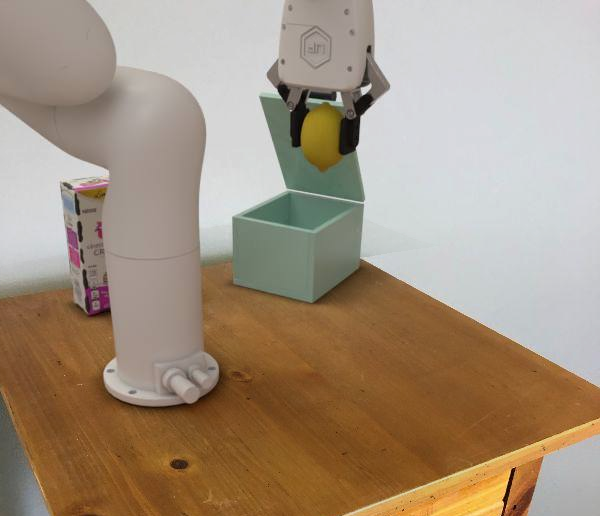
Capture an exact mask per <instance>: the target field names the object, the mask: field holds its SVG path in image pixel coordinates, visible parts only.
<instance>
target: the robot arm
mask: <svg viewBox="0 0 600 516" xmlns="http://www.w3.org/2000/svg"><path fill="white" fill-rule="evenodd" d="M375 40H376V39H375V15H374V4H373V0H284V3H283V9H282V15H281V23H280V31H279V41H278V42H279V44H278V45H279V46H278V58H277V59H276V60H275V61H274V62H273V64H272V65H271V66H270V68H269V69H268V71H267V72H266V77H267V80H268V81H269V82H270V83H271V85H272V86H273V87H274V88H275V89H276V90H277V94H279V95H280V96H281V97H282V99H283V100H284V102H285V103H286V108H287V110H288V111H290V137H291V138H292V147H294V148H298V147H300V146H301V130H302V125H303V122H304V119H305V117H306V115H307V114H308V113H309V112H310V110H309V108H306V103H307V100H308V97H309V95H310V92H311V89H316V90H325V91H333V92H337V93H339V94H340V97H341V102H343V106H344V110H345V118H343V119H341V122H340V141H339V153H340V154H341V155H347V154H350V153H352V152H354V151H355V150H356V151H357V147H358V145H359V144H360V134H361V119H362V116H364V114H365V113H366V112H367V111H368V110H369V109H370V108H371V107H372V106H373V105H374V104H375V103H376V102H377V101H378V100H380V99H381V98H382V97H383V96H384V95H386V94H387V92H389V90H390V89H391V84H390V82H389V80H388V79H387V78H386V76H385V74H384V72H382V70H381V68H380V66H379V65H378V64H377V62H376V60H375V48H376V47H375V45H376V44H375V43H376V42H375ZM117 59H118V57H117V50H116V45H115V42H114V39H113V36H112V34H111V32H110V30H109V28H108V26H107V24H106V23H105V21H104V19H103V18H102V17H101V15H100V14H99V13H98V11H97V10H96V9H95V8H94V7H93V5H92V4H90V2H89V1H87V0H0V106H2V107H3V108H4V109H5V110H7V111H8V112H9V113H11V114H12V115H13V116H15V117H16V118H17V119H19V120H20V121H21V122H22V123H24V124H25V125H26V126H27V127H29V128H30V129H32V130H33V131H35V132H36V133H37V134H39V135H40V136H41V137H43V138H44V139H45V140H47V142H49V143H50V144H52V145H53V146H55V147H56V148H58V149H59V150H61V151H62V152H64V153H66V154H67V155H69V156H71V157H73V158H76V159H77V160H79V161H82V162H85V163H88V164H91V165H93V166H97V167H100V168H102V169H105V170H106V171H108V175H109V183H108V188H107V191H106V195H105V199H104V203H103V209H102V236H103V245H104V250H105V261H106V270H107V279H108V288H109V297H110V307H111V310H110V315H111V324H112V332H113V333H112V334H113V343H114V352H115V357H114V358H112V359H111V360H110V361H109V362H108V363H107V364H106V365H105V367H104V370H103V374H102V375H103V376H102V377H103V384H104V387H105V389H106V390H107V392H108V393H109V394H110V395H111V396H113V397H114V398H116V399H118V400H120V401H122V402H125V403H128V404H131V405H135V406H140V407H152V408H153V407H154V408H156V407H171V406H177V405H182V404H189V405H190V404H194V403H196V402H197V401H199V400H198V399H200V398H202V397H203V396H205V395H207V394H208V393H210V392H211V391H212V390H213V389H214V388H215V387H216V386H217V384H218V382H219V379H220V367H219V363H218V362H217V360H216V359H215V358H214V357H213V356H212V355H210V354H209V353H208V352H206V351H205V336H204V335H205V334H204V309H203V308H204V307H203V306H204V305H203V283H202V258H201V256H202V255H201V238H200V235H201V233H200V193H201V191H200V190H201V180H202V173H203V164H204V159H205V153H206V148H207V147H206V146H207V123H206V119H205V115H204V112H203V109H202V107H201V105H200V103H199V102H198V99H197V98H196V97H195V96H194V94H193V93H192V92H191V91H190V89H188V88H187V87H186V86H185V85H184V84H183V83H181V82H180V81H178V80H176V79H174V78H172V77H170V76H168V75H165V74H163V73H159V72H155V71H152V70H147V69H141V68H136V67H131V66H127V65H117V63H118V61H117ZM370 85H371V86H370ZM368 86H370V88H369V90H368V91H366V93H364V94H363V93H362V88H366V87H368Z"/></svg>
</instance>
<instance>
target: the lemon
mask: <svg viewBox="0 0 600 516" xmlns="http://www.w3.org/2000/svg"><path fill="white" fill-rule="evenodd" d="M343 118H344V116H343V115H342V113H341V112H340V111H339V110H338V109H337V108H335V107H333V106H331V105H330V104H329V102H323V103H322V104H321V105H319V106H317V107H315V108H313V109H312V110H311V111H310V112H309V113H308V114H307V115H306V117H305V119H304V122H303V125H302V130H301V148H302V152H303V154H304V156H305V158H306V160H307V161H308V162H309V163H310V164H312V165H314V166H315V167H317V168H318V170H319V171H320V172H322V173H324V172H326V171H327V170H328V169H329V168H330V167H332V166H334V165H336V164H337V163H338V162H340V160H341V159H342V158H343V156H344V155H341V154H340V153H339V141H340V122H341V119H343Z"/></svg>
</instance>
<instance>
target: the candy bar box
mask: <svg viewBox="0 0 600 516" xmlns="http://www.w3.org/2000/svg"><path fill="white" fill-rule="evenodd" d="M108 183H109V174H108V175H98V176H91V177H83V178H75V179H66V180H59V187H60V197H61V202H62V203H61V204H62V211H63V212H62V213H63V220H64V222H63V223H64V228H65V238H66V244H67V255H68V263H69V270H70V271H69V272H70V280H71V281H70V282H71V287H72V289H71V290H72V297H73V303H74V305H75V306H77V307H78V308H79V309H80V310H82V312H84V313H85V314H86V315H87V316H91V315H97V314H99V313H104V312H109V311H111V307H110V297H109V288H108V279H107V270H106V261H105V250H104V245H103V236H102V209H103V203H104V199H105V195H106V191H107V188H108Z"/></svg>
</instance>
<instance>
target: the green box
mask: <svg viewBox="0 0 600 516" xmlns="http://www.w3.org/2000/svg"><path fill="white" fill-rule="evenodd" d="M364 209H365V203H363V202H357V201H352V200H346V199H340V198H335V197H329V196H324V195H318V194H312V193H307V192H301V191H296V190H290V189H286V191H283V192H281V193H279V194H277V195H275V196H272V197H270V198H268V199H265V200H264V201H262V202H260V203H257V204H255V205H254V206H252V207H249V208H248V209H245V210H243V211H241V212H239V213H237V214H235V215H232V217H231V225H232V227H231V228H232V230H231V233H232V234H231V235H232V283H233V285H236V286H239V287H244V288H248V289H252V290H256V291H260V292H264V293H269V294H272V295H276V296H281V297H284V298H288V299H292V300H297V301H301V302H304V303H305V302H306V303H310V304H313V303H315V302H316V301H318V300H319V299H320V298H321V297H322V296H324V295H325V294H327V293H328V292H329V291H331V290H332V289H333V288H335V287H336V286H337V285H339V284H340V283H342V282H343V281H344V280H345V279H347V278H348V277H349V276H350V275H352V274H353V273H355V272H356V271H357V270H359V269H360V263H361V252H362V238H363V226H364V225H363V223H364V211H365V210H364Z"/></svg>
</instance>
